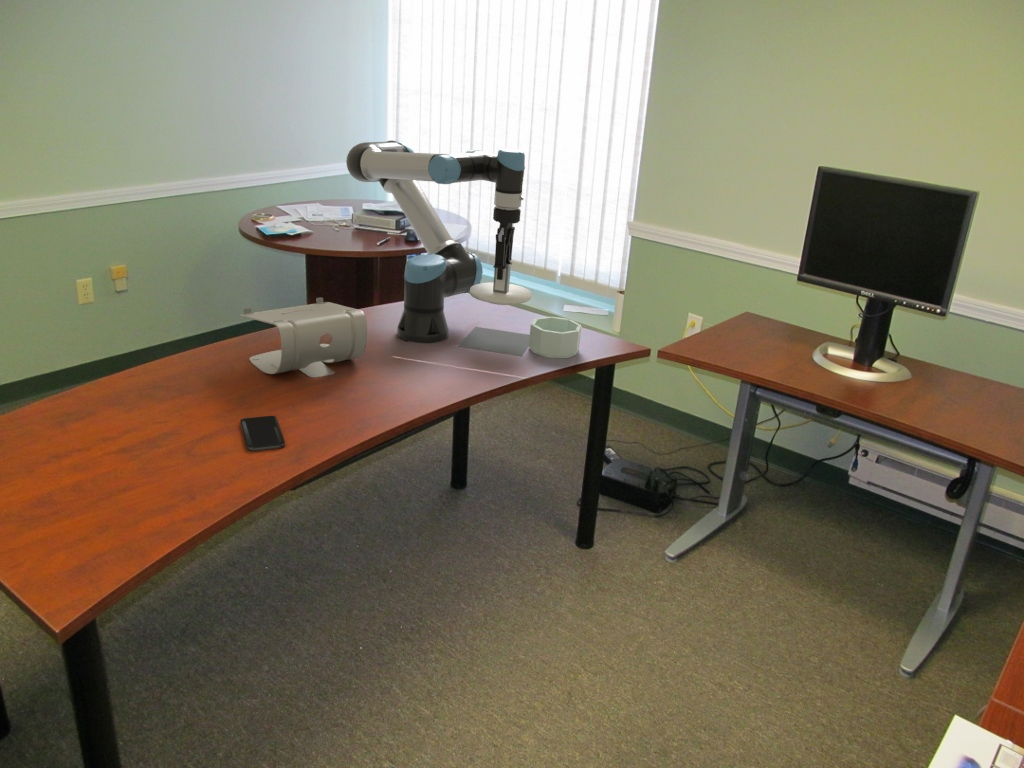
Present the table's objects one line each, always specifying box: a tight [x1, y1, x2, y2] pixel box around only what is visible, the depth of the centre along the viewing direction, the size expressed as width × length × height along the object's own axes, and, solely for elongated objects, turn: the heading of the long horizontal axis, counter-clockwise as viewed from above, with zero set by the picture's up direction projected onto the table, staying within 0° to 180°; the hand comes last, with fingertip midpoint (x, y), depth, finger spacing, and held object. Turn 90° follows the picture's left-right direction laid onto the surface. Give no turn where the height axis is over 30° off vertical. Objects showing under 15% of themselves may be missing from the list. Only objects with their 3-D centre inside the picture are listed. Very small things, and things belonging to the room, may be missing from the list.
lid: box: [469, 264, 533, 306], centre depth 236 cm, size 18×18×10 cm
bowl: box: [528, 316, 582, 359], centre depth 239 cm, size 14×14×8 cm
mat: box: [457, 326, 530, 357], centre depth 243 cm, size 19×19×1 cm
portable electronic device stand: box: [239, 297, 368, 379], centre depth 214 cm, size 26×24×16 cm
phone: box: [240, 415, 286, 453], centre depth 178 cm, size 8×1×15 cm
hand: (501, 288), depth 237 cm, fingers closed on lid, 3 cm apart
